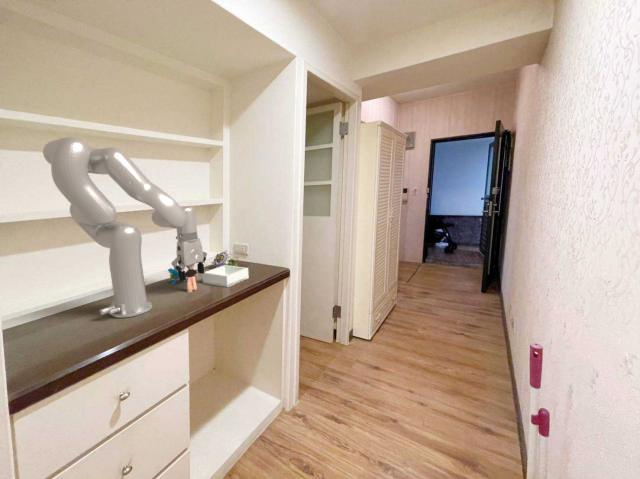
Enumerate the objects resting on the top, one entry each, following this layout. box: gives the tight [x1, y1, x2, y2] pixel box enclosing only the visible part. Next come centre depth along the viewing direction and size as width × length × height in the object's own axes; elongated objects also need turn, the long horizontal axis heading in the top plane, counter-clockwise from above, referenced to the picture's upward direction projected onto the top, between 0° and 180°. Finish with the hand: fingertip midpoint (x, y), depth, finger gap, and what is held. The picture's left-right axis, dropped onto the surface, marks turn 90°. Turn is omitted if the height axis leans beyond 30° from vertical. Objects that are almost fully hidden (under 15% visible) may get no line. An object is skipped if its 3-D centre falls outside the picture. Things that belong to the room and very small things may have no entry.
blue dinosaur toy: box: [167, 267, 188, 285], centre depth 138 cm, size 11×6×10 cm
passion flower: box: [211, 249, 240, 268], centre depth 161 cm, size 11×11×12 cm
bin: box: [201, 264, 250, 288], centre depth 140 cm, size 14×14×5 cm
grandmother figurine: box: [184, 264, 199, 294], centre depth 127 cm, size 8×4×13 cm, turn 170°
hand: (192, 276), depth 127 cm, fingers open, 9 cm apart
